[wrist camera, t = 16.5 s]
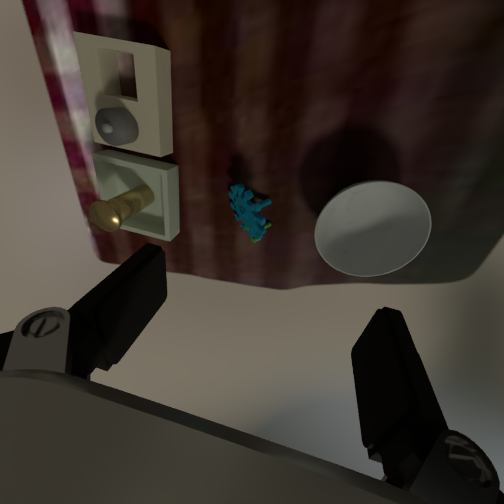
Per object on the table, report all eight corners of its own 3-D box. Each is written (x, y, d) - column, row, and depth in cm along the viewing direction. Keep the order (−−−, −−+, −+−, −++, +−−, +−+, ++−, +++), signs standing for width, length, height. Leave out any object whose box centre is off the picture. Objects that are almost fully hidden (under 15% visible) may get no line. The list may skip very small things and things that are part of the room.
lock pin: (131, 178, 46) (86, 198, 37) (156, 185, 46) (116, 206, 37) (134, 203, 49) (93, 227, 40) (158, 209, 49) (120, 235, 40)
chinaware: (419, 160, 35) (442, 174, 29) (405, 249, 42) (421, 276, 36) (312, 173, 39) (311, 188, 33) (317, 252, 47) (316, 277, 40)
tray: (108, 149, 45) (91, 153, 42) (178, 165, 44) (166, 170, 40) (119, 216, 53) (106, 224, 50) (179, 232, 51) (170, 241, 48)
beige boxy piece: (95, 37, 36) (45, 23, 29) (170, 50, 35) (135, 39, 28) (111, 138, 44) (74, 145, 37) (172, 152, 43) (146, 162, 36)
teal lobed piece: (220, 180, 42) (251, 195, 34) (248, 168, 44) (283, 179, 36) (235, 233, 48) (264, 255, 41) (259, 220, 50) (291, 239, 43)
